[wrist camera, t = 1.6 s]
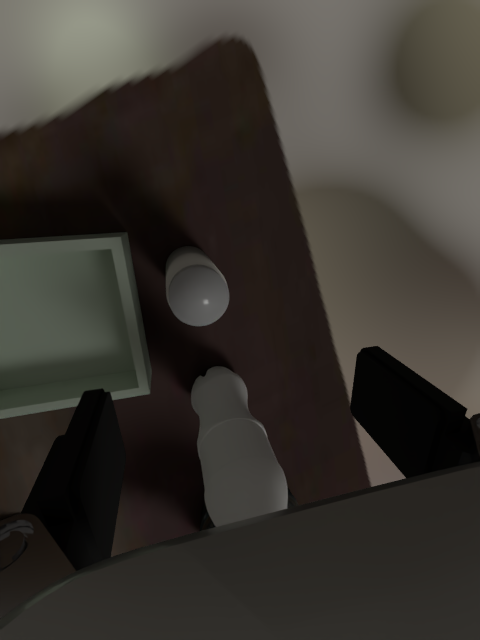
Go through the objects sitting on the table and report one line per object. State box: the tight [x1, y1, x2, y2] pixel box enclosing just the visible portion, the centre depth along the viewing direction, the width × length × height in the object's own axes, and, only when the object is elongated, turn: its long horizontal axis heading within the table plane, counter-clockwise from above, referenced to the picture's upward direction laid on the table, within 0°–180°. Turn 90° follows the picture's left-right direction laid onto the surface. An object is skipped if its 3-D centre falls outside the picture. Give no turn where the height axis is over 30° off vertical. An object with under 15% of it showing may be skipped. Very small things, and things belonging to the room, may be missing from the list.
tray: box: [0, 232, 152, 419], centre depth 30 cm, size 17×18×5 cm
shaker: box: [166, 246, 229, 326], centre depth 29 cm, size 5×5×12 cm
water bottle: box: [191, 366, 288, 527], centre depth 29 cm, size 7×7×25 cm
